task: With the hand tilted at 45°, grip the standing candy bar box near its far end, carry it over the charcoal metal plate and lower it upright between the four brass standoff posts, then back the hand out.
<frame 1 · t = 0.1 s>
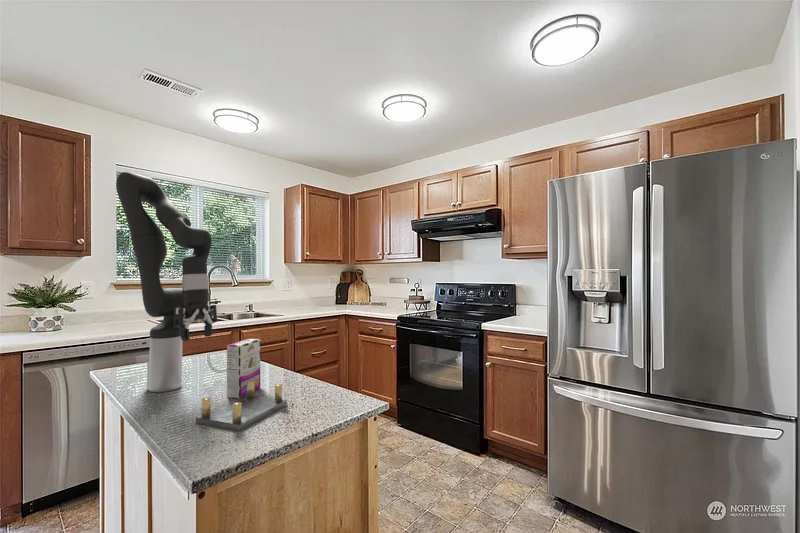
hand: (197, 338, 117), 17 cm above the worktop, tool pointing down, fingers open, 8 cm apart
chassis: (244, 413, 99), on the worktop
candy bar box: (243, 393, 116), on the worktop
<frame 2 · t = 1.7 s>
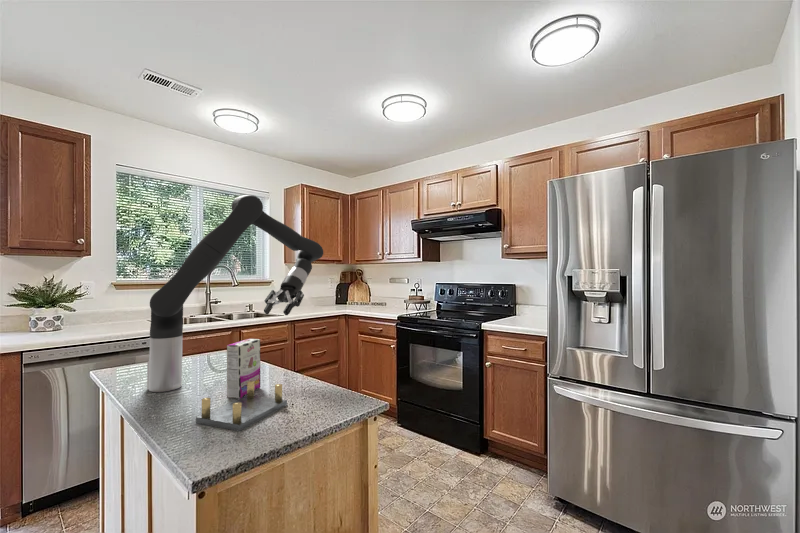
hand: (275, 313, 131), 24 cm above the worktop, tool tilted 45°, fingers open, 8 cm apart
nothing on the worktop moved.
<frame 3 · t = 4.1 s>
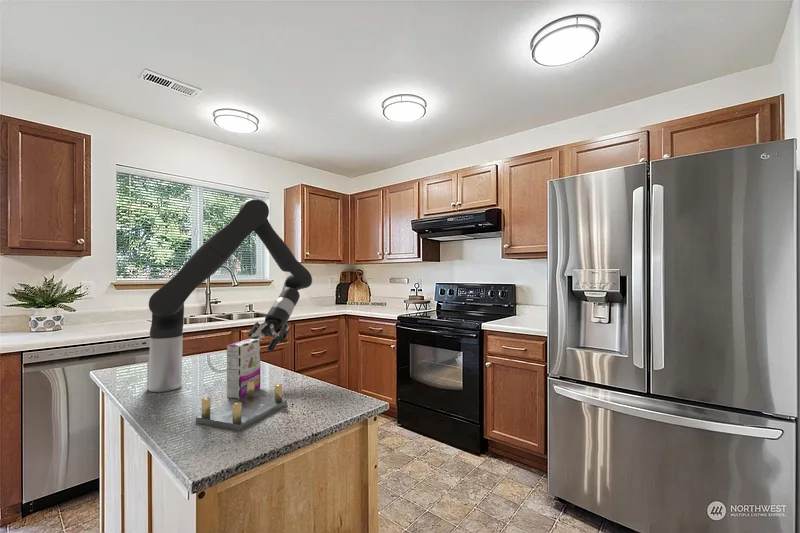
hand: (258, 349, 123), 13 cm above the worktop, tool tilted 45°, fingers open, 8 cm apart
nothing on the worktop moved.
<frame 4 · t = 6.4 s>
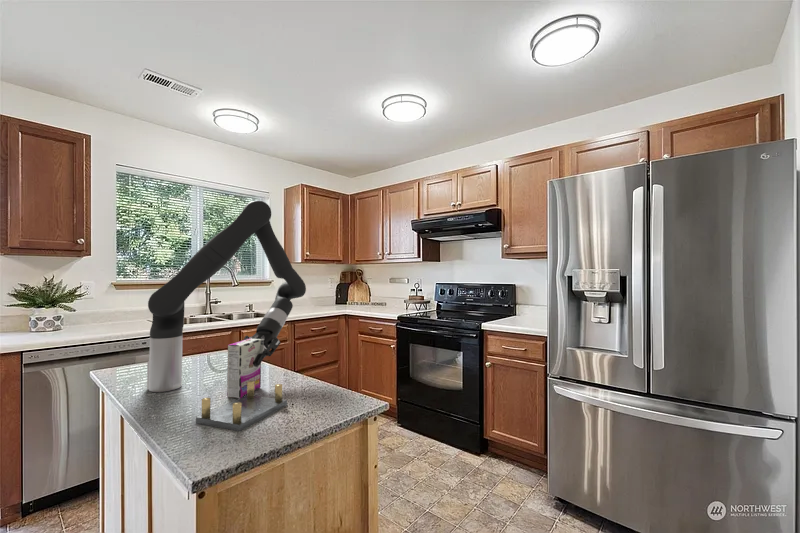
hand: (247, 364, 118), 9 cm above the worktop, tool tilted 45°, fingers closed on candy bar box, 5 cm apart
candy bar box: (243, 393, 116), on the worktop, touching gripper
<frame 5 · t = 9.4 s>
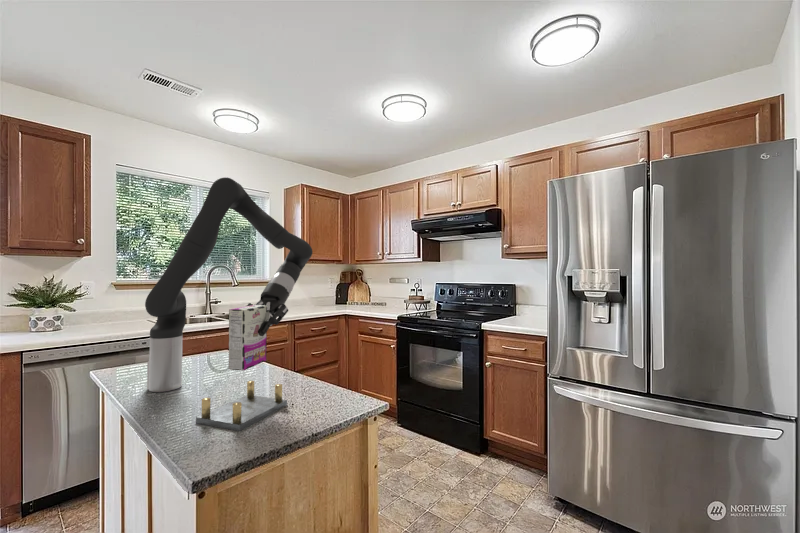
hand: (251, 333, 103), 21 cm above the worktop, tool tilted 45°, fingers closed on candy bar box, 5 cm apart
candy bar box: (247, 365, 102), point 12 cm above the worktop, touching gripper
when the fingers open (11 cm above the worktop, at t = 12.8 s): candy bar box drops 1 cm, resting on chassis.
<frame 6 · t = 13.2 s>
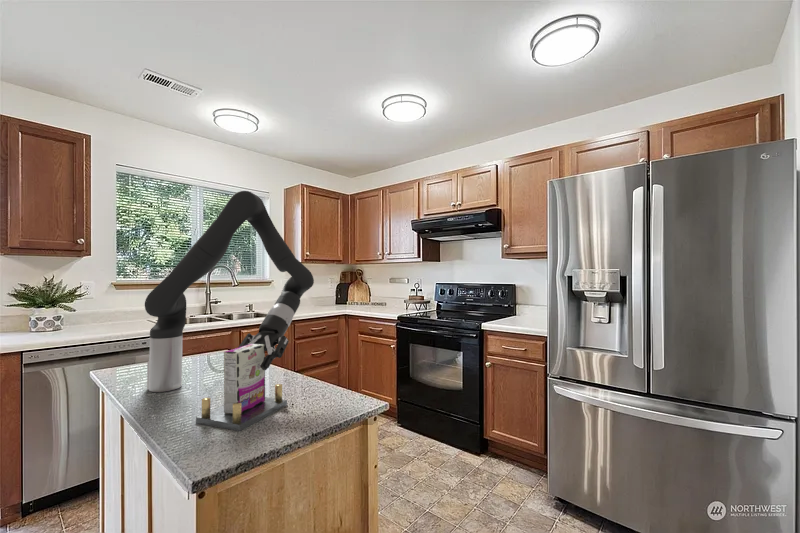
hand: (250, 367, 101), 12 cm above the worktop, tool tilted 45°, fingers open, 8 cm apart
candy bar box: (244, 408, 99), point 1 cm above the worktop, touching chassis
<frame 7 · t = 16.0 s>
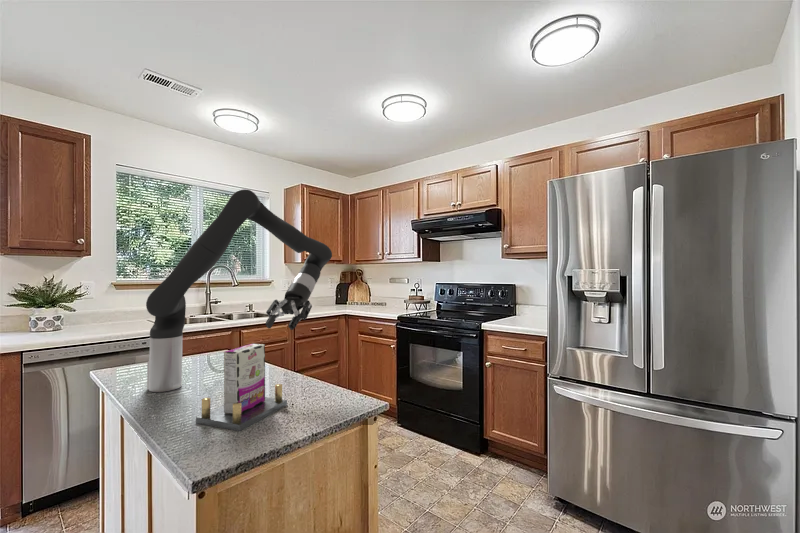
hand: (278, 327, 113), 21 cm above the worktop, tool tilted 45°, fingers open, 8 cm apart
nothing on the worktop moved.
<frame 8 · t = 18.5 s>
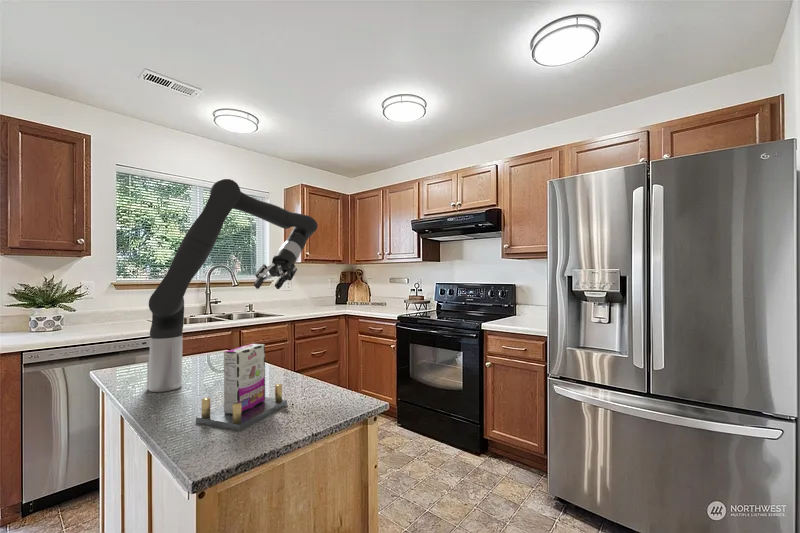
hand: (266, 287, 123), 34 cm above the worktop, tool tilted 45°, fingers open, 8 cm apart
nothing on the worktop moved.
at the end: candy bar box 0.6 cm off-centre on the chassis, point 1.3 cm above the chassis's base; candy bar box tilted 0°; the gripper is holding nothing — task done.
